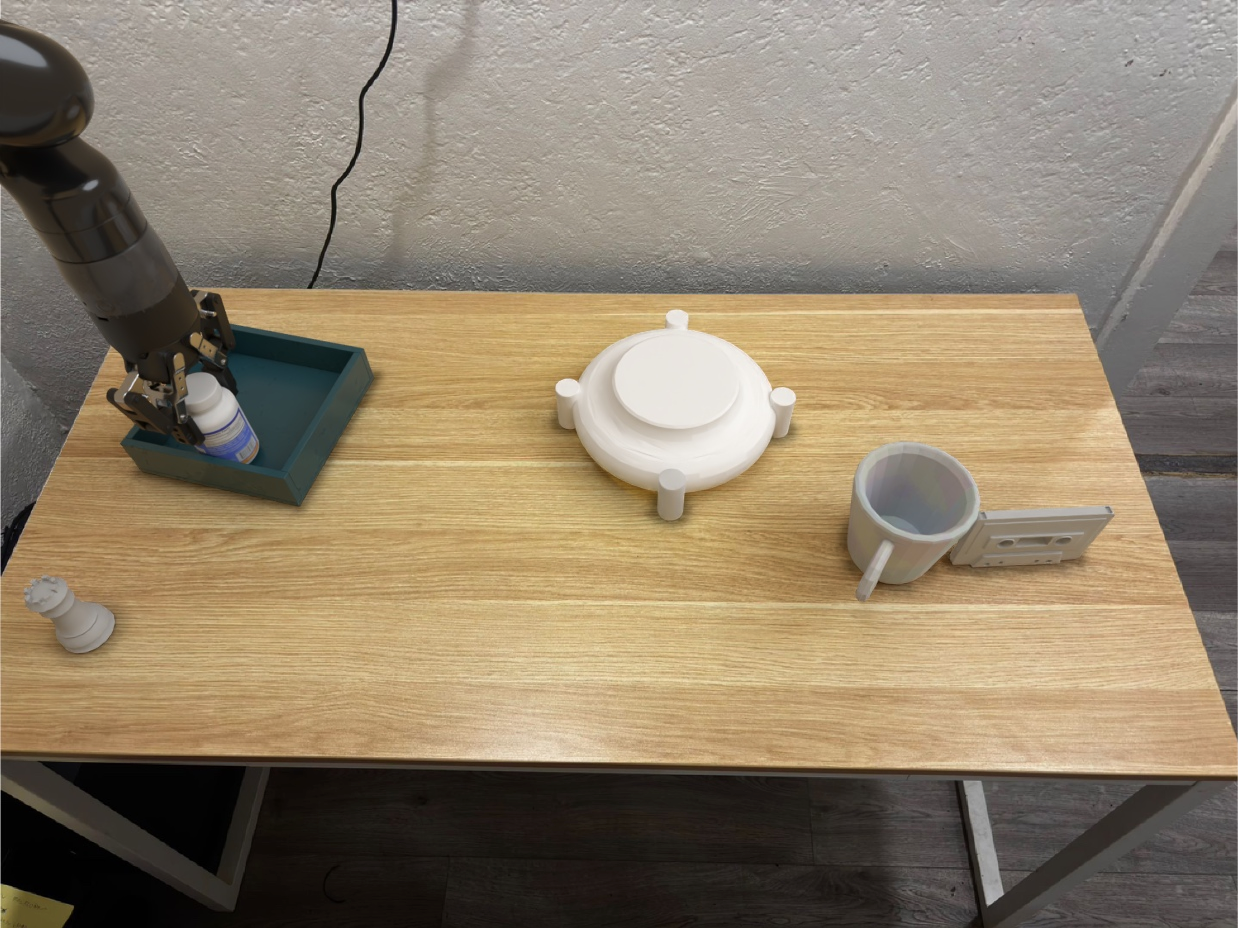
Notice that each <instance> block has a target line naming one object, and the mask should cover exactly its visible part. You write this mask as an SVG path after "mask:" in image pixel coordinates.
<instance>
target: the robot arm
mask: <svg viewBox="0 0 1238 928" xmlns="http://www.w3.org/2000/svg"><path fill="white" fill-rule="evenodd" d="M95 98H96V97H95V92H94V88H93V85H92V82H91V79H90V76H89V75H88V73H87V72H86V70H85V68H84V67H83V66H82V64H81V62H80V61H79V60H78V59H77V58H76V57H75V56H74V55H73V54H72V53H71V52H70V51H69V50H68V49H67V48H66V47H64V46H63V45H62V44H60V43H59V42H58V41H56V40H54V39H53V38H51V37H49V36H48V35H46V34H43V33H42V32H39V31H36V30H33V29H31V28H29V27H25V26H22V25H19V24H16V23H15V22H11V21H8V20H5V19H2V18H0V186H1V187H2V188H3V189H4V190H5V191H6V192H7V193H8V194H9V195H10V197H12V199H13V200H14V201H15V202H16V204H17V205H18V207H19V209H20V211H21V212H22V215H24V217H25V219H26V220H27V222H28V223H29V225H30V226H31V227H32V229H33V230H34V231H35V233H36V235H37V236H38V237H39V239H40V241H41V242H42V244H43V245H44V246H45V248H46V249H47V251H48V252H49V254H50V255H51V257H52V258H53V261H54V263H55V264H56V267H57V269H58V271H59V273H60V275H61V277H62V279H63V280H64V282H65V283H66V285H67V286H68V287H69V289H70V290H71V292H72V293H73V295H74V296H75V298H76V299H77V300H78V302H79V304H80V305H81V306H82V308H83V309H84V311H85V312H86V314H87V315H88V317H89V318H90V319H91V321H92V323H93V324H94V326H95V327H96V328H97V330H98V331H99V332H100V334H101V335H102V337H103V338H104V339H105V341H106V342H107V343H108V345H110V346H111V347H112V348H113V349H114V350H115V352H117V353H118V354H119V355H120V356H121V357H122V360H123V365H124V370H125V372H126V376H125V378H124V379H123V381H122V383H121V385H120V387H117V388H116V387H110V388H109V389H108V390H107V391H106V396H105V397H106V401H108V402H109V403H110V404H111V405H112V406H114V407H115V408H116V409H117V410H118V411H120V413H122V414H123V415H124V416H125V417H127V418H128V419H129V420H130V421H131V422H133V424H134V425H135V424H136V425H137V426H138V427H140V428H141V429H142V430H147V431H154V432H159V433H162V434H166V435H170V434H171V433H172V435H173V436H174V437H175V439H176V441H177V442H179V443H182V444H187V445H191V446H194V445H197V446H201V445H202V444H203V443H204V441H205V440H206V439H205V437H204V435H203V434H202V432H201V431H200V429H199V428H198V426H197V424H196V423H195V421H194V420H193V418H192V417H191V416H190V415H188V413H187V408H186V403H185V398H186V397H187V396H188V389H187V384H186V379H185V378H186V377H187V374H188V372H189V370H190V369H191V368H192V367H193V366H194V365H196V364H197V363H199V364H202V365H204V366H203V367H202V368H201V370H202V372H204V373H209V374H211V375H213V376H214V377H215V378H216V380H217V381H218V383H219V384H220V386H221V387H224V388H226V389H228V390H229V391H231V392H232V393H233V395H234V396H235V397H236V396H237V394H238V393H239V391H238V390H237V388H236V386H237V384H236V380H235V378H234V377H233V375H232V373H231V371H230V369H229V367H228V358H227V357H226V355H227V352H228V350H233V349H234V348H235V339H234V336H233V333H232V330H231V326H230V324H231V323H230V319H229V317H228V314H227V312H226V311H227V310H226V308H225V305H224V302H223V299H222V296H221V294H219V293H217V292H211V291H206V290H200V289H195V288H193V289H191V290H190V289H189V287H188V285H187V284H186V282H185V279H184V278H183V276H182V274H181V272H180V270H179V269H178V267H177V265H176V263H175V261H174V260H173V257H172V256H171V254H170V253H169V250H168V248H167V247H166V245H165V244H164V242H163V240H162V238H161V236H159V234H158V233H157V231H156V230H155V229H154V228H153V226H152V225H151V223H150V222H149V221H148V219H147V218H146V216H145V214H144V212H143V210H142V208H141V206H140V205H139V203H138V201H137V199H136V197H135V196H134V193H133V192H132V190H131V188H130V187H129V185H128V183H127V181H126V180H125V178H124V176H123V175H122V173H121V172H120V170H119V169H118V167H117V166H116V165H115V163H114V162H113V161H112V160H111V159H110V158H109V157H108V156H106V155H105V154H104V153H103V152H101V151H100V150H98V149H97V148H95V147H94V146H92V145H91V144H90V143H89V142H87V141H85V140H84V139H83V138H82V137H81V134H83V132H85V130H86V129H87V128H88V126H89V125H90V123H91V121H92V119H93V116H94V113H95V104H96V101H95V100H96V99H95ZM214 329H216V330H217V331H218V332H219V335H216V334H215V331H214ZM166 384H167V385H171V386H172V387H169V386H165V385H166ZM150 401H151V402H150ZM167 401H169V402H170V403H171V407H172V408H170V407H168V406H167ZM151 403H152V404H151Z"/></svg>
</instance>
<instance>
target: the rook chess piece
mask: <svg viewBox="0 0 1238 928" xmlns="http://www.w3.org/2000/svg"><path fill="white" fill-rule="evenodd" d="M29 584H30V585H31V586H30V587H24V588H23V592H22V594H23V595H25V596H24V597H23V599H24V604H25V608H27V609H28V610H29V611H30V612H33V613H38V614H40V616H41V617H42V618H46V619H49V620H50V621H51V622H52V624H53V625H54V630H55V637H56V640H57V641H58V643H60V645H61V646H62V647H63V648H65V649H66V651H67V652H71V653H74V654H82V653H83V654H84V653H88V652H91V651H93V650H96V649H98V648H100V647H101V646H102V645H104V644H105V643H106V642H107V641H108V639H109V638H110V637H111V635H112V634H113V631H114V627H115V625H116V621H115V616H114V614H113V613H112V612H111V610H110V609H109V608H106V607H105V606H104V604H103V605H102V604H100V603H97V602H93V601H86V600H85V601H83V600H81V599H79V598H77V597H76V596H75V593H74V591H73V590H72V589H70V588H69V587H68V582H67V580H65V579H64V578H62V577H59V576H49V574H42V575H41V576H40V579H39V580H38V579H37V578H36V577H35V578H33V579H31V580H30V581H29Z"/></svg>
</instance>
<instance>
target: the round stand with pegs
mask: <svg viewBox="0 0 1238 928" xmlns="http://www.w3.org/2000/svg"><path fill="white" fill-rule="evenodd" d="M689 319H690V318H689V314H688V313H687V312H686V311H684V309H683V310H682V309H679V308H678V309H677V308H676V309H671V310H668V312H667V313H666V314H665V319H664V328H657V329H650V330H646V331H641V332H637V333H634V334H631V335H628V336H626V337H623V338H621V339H619V340H617V341H615V342H613V343H612V344H610V345H608V346H607V347H606V348H604V349H602V351H600V352H599V353H598V354H597V355H596V356H594V358H592V359H591V361H590V362H589V363H588V364H587V366H586V367H585V369H584V370H583V372H582V373H581V375H580V377H579V378H578V381H577V380H575V379H573V378H563V379H561V380H558V381H557V383H556V384H555V387H554V391H555V400H556V409H557V419H558V424H559V425H560V427H561V428H563V429H566V430H573V429H574V430H575V431H576V434H577V436H578V439H579V440H580V442H581V445H582V447H583V448H584V449H585V451H586V453H588V455H589V456H590V458H592V459H593V460H594V461H595V463H596V464H598V466H600V467H601V468H602V469H603V470H605V471H606V473H607V472H608V473H609V474H610V475H612V476H614V477H615V478H617V479H619V480H620V481H622V482H625V483H627V484H629V485H631V486H635V487H637V488H640V489H643V490H648V491H653V492H657V505H656V512H657V515H658V516H659V517H660V518H661V519H662V520H664V521H669V522H671V521H672V522H673V521H676V520H678V519H680V518H681V516H683V513H684V504H685V503H684V502H685V495H686V493H696V492H701V491H705V490H711V489H713V488H716V487H719V486H722V485H725V484H726V483H728V482H730V481H732V480H734V479H736V478H737V477H739V476H741V475H742V474H743V473H745V472H747V470H749V469H750V468H751V467H752V466H753V465H754V464H755V463H756V462H757V461H758V460H759V459H760V458H761V456H762V455H763V454H764V453H765V451H766V450H767V448H768V446H769V444H770V442H771V441H772V438H773V439H782V438H784V437H786V436H787V435H788V433H789V429H790V424H791V421H792V416H793V412H794V408H795V404H796V400H797V395H796V393H795V392H794V390H792V389H790V388H788V387H784V386H780V387H776V388H774V389H773V387H772V385H771V383H770V381H769V379H768V377H767V375H766V374H765V372H764V370H763V369H762V368H761V366H760V365H759V364H758V363H757V362H756V361H755V360H754V359H753V358H752V357H751V356H750V355H748V354H747V353H746V352H745V351H744V350H742V349H741V348H740V347H738V346H737V345H735V344H733V343H731V342H730V341H728V340H725V339H723V338H721V337H718V336H716V335H713V334H711V333H706V332H704V331H699V330H693V329H689Z"/></svg>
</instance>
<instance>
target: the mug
mask: <svg viewBox="0 0 1238 928" xmlns="http://www.w3.org/2000/svg"><path fill="white" fill-rule="evenodd" d="M980 496H981V495H980V492H979V486H978V485H977V483H976V480H975V479H974V478H973V475H972V473H971V472H970V470H968V469H967V468H966V467H965V466H964V464H963V463H961V462H960V460H958V459H957V458H956V457H954V456H953V455H951V454H949V453H947V452H946V451H944V450H943V449H941V448H939V447H936V446H933V445H929V444H926V443H923V442H919V441H918V442H917V441H904V440H900V441H895V442H888V443H883V444H881V445H880V446H878V447H876V448H873V449H872V450H870V451H869V452H868V453H867V454H866V455H865V456H864V457H863V458H862V460H861V461H859V462H858V464H857V466H856V469H855V473H854V476H853V480H852V488H851V498H850V507H849V508H850V509H849V518H848V519H849V520H848V526H847V527H848V528H847V538H846V542H847V551H848V553H849V555H850V559H851V560H852V562H853V563H854V565H855V566H856V567H857V568H858V569H859V570H860V572H862V573H863V575H862V577H861V579H860V581H859V583H858V585H857V587H856V590H855V596H854V598H855V599H856V600H857V601H858V602H860V603H865V602H866V601H867V600H869V598H870V597H871V595H872V593H873V591H874V590H875V588H876V586H877V583H878V582H880V583H883V584H887V585H888V584H889V585H904V584H908V583H912V582H914V581H916V580H917V579H919V578H921V577H922V576H924V575H925V574H926V572H928V571H929V569H931V568H932V567H933V566H934V565H935V564H936V563H937V562H938V561H939V560H940V559H941V558H942V557H943V556H944V555H945V554H946V553H947V552H948V551H949V550H950V549H951V548H952V547H953V546H955V545H956V544H957V542H958V541H959V539H960V538H961V537H962V536H963V535H964V534H965V533H967V531H968V530H969V529H970V528H971V526H972V525H973V524H974V522H975V521H976V520H977V517H978V512H979V511H980V507H981V497H980Z"/></svg>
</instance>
